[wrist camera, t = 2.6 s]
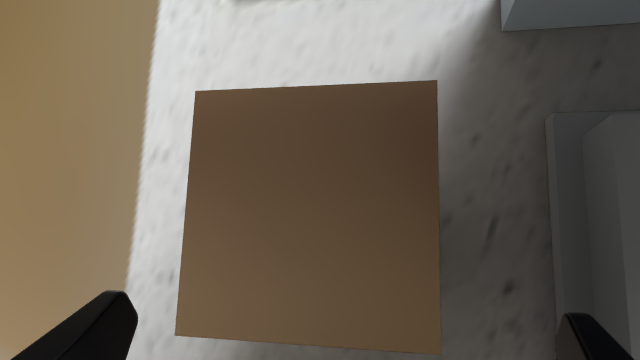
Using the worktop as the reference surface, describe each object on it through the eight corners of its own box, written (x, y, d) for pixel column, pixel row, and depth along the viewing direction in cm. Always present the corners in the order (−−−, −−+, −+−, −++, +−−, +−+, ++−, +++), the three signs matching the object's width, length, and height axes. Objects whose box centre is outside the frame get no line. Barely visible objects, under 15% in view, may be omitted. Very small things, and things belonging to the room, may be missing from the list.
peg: (419, 292, 18) (440, 354, 6) (321, 288, 18) (175, 335, 7) (418, 193, 18) (437, 80, 7) (324, 193, 19) (195, 91, 8)
